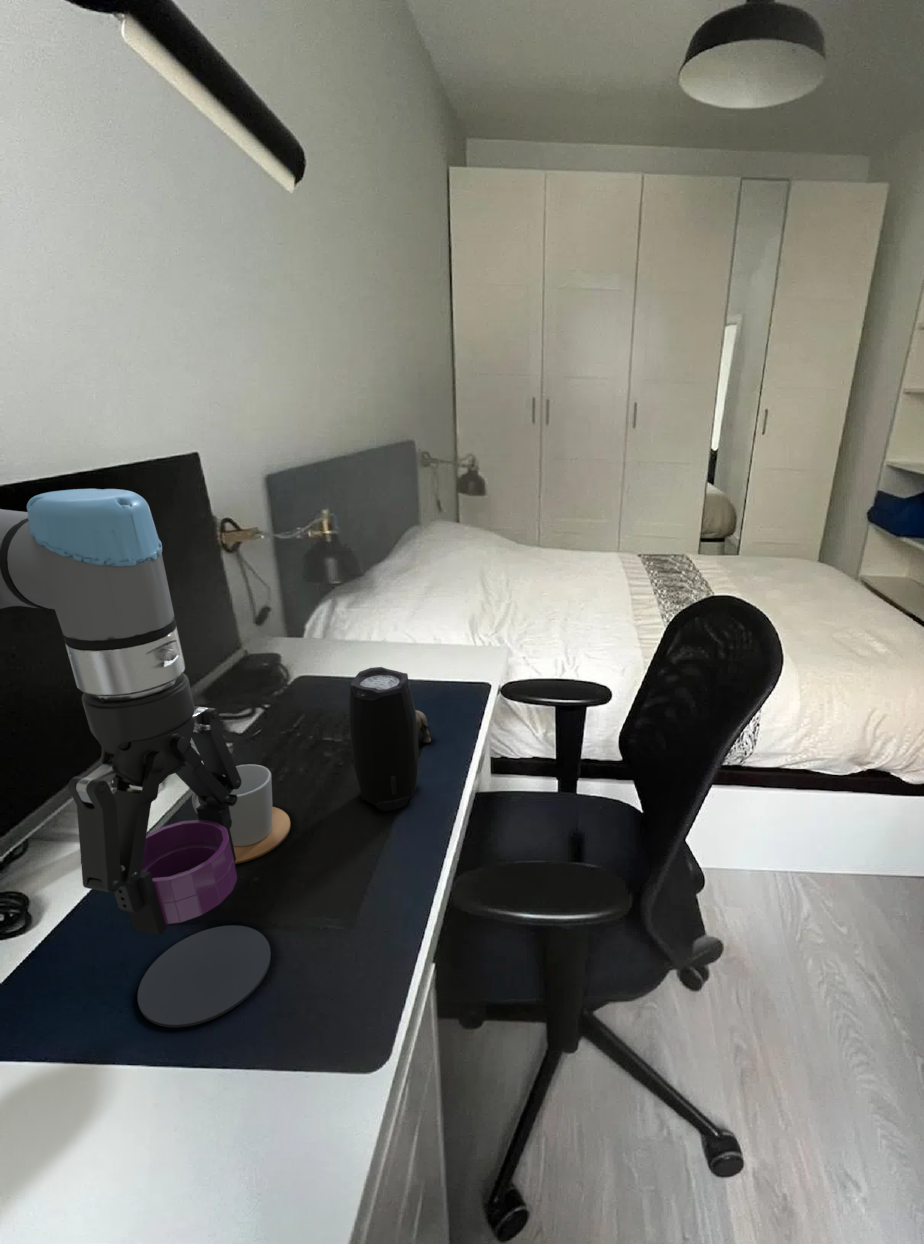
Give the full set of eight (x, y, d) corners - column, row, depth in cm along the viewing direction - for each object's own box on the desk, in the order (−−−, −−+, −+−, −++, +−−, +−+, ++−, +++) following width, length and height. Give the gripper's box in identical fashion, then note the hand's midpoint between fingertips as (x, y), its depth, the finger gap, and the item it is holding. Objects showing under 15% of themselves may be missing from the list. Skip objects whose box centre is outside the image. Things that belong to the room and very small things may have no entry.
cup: (268, 851, 81) (258, 796, 78) (187, 853, 81) (174, 798, 77) (287, 815, 88) (279, 763, 85) (213, 816, 88) (202, 764, 84)
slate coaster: (107, 1013, 60) (106, 1010, 60) (198, 919, 71) (198, 916, 71) (217, 1040, 58) (216, 1037, 58) (294, 939, 69) (293, 936, 69)
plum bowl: (112, 919, 58) (97, 872, 56) (182, 857, 66) (172, 814, 64) (194, 936, 56) (182, 888, 54) (256, 871, 64) (247, 827, 62)
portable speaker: (364, 780, 98) (352, 664, 90) (425, 779, 99) (418, 665, 91) (350, 813, 90) (336, 690, 82) (416, 813, 91) (409, 691, 83)
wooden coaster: (169, 856, 80) (168, 854, 80) (233, 802, 91) (233, 799, 91) (252, 872, 78) (252, 870, 78) (308, 814, 89) (307, 812, 89)
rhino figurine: (375, 719, 115) (373, 690, 113) (435, 739, 110) (433, 709, 107) (359, 729, 112) (356, 699, 110) (419, 750, 106) (417, 719, 104)
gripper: (51, 753, 42) (129, 995, 51) (258, 641, 61) (289, 829, 70) (-41, 739, 43) (51, 977, 52) (191, 633, 63) (230, 819, 71)
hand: (188, 892), depth 61 cm, fingers closed on plum bowl, 9 cm apart
